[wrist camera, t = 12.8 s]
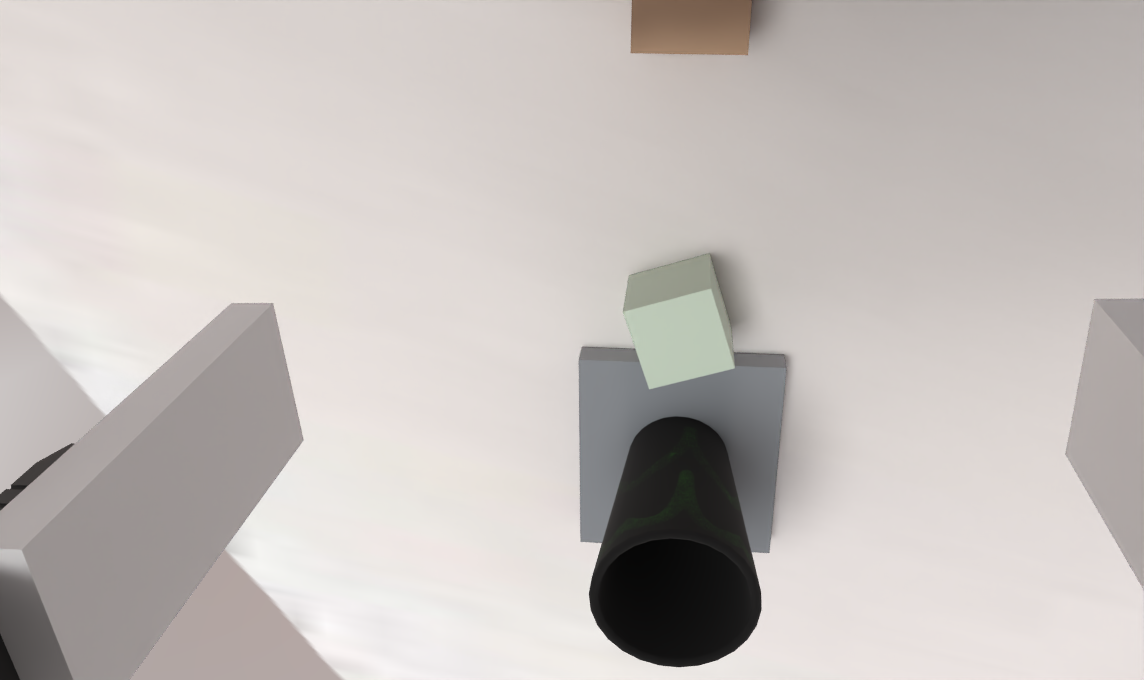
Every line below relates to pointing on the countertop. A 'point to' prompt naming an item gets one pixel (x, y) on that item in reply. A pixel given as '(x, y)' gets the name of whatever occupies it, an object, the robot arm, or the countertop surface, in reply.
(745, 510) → the plate
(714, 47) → the walnut block
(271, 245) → the countertop surface
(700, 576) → the cup
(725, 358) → the sage block
